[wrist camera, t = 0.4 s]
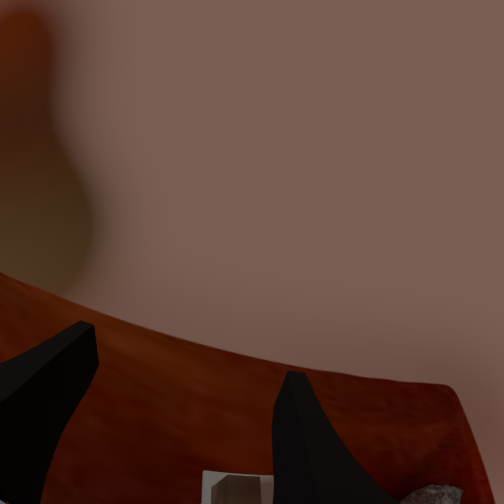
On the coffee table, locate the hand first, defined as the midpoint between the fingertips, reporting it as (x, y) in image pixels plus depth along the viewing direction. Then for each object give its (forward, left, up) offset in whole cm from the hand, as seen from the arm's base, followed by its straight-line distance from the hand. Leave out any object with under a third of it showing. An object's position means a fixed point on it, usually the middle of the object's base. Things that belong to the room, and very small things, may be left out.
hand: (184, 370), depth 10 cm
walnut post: (-1, -7, -20) cm, 21 cm away
